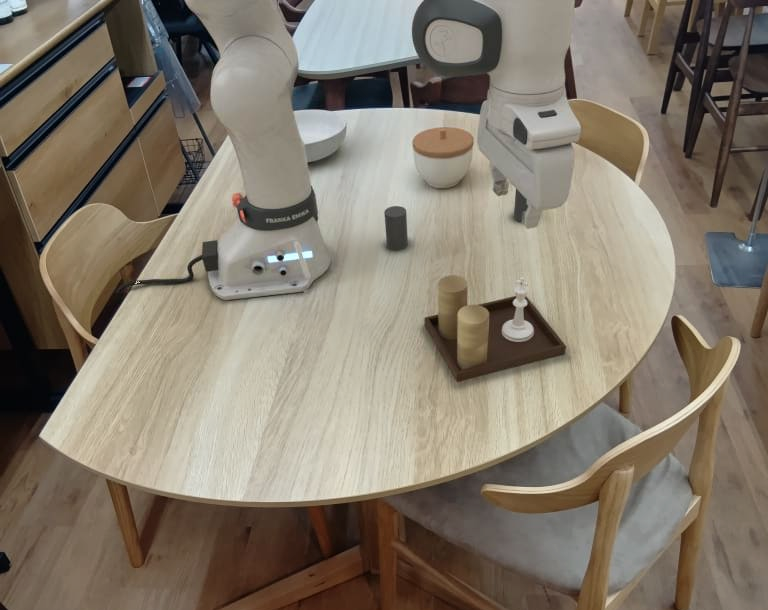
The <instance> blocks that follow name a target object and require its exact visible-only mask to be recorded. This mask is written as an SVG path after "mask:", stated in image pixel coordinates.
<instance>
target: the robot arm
mask: <svg viewBox="0 0 768 610" xmlns="http://www.w3.org/2000/svg"><path fill="white" fill-rule="evenodd" d="M184 2H185V4H186V6H187V8H188V9H189V10H190V11H191V12H192V13H194V14H195V15H196V16H197V18H198V19H199V20H200V22H201V23H202V25H203V26H204V27H205V29H206V30H207V32H208V33H209V35H210V36H211V38H212V40H213V41H214V43H215V45H216V47H217V49H218V53H219V56H220V58H219V60H218V61H217V63H216V64H215V66H214V68H213V70H212V74H211V80H210V92H209V93H210V94H209V95H210V103H211V107H212V110H213V112H214V114H215V116H216V117H217V119H218V120H219V122H220V123H221V124H222V125H224V128H225V130H226V132H227V135H228V137H229V139H230V142H231V144H232V146H233V149H234V151H235V152H234V153H235V155H236V158H237V161H238V165H239V170H240V174H241V178H242V182H243V187H244V190H245V191H244V192H245V196H243V194H241V193H240V192H235V193H233V194H232V196H231V202H232V205H233V206H234V208H236V210H237V216H238V219H237V220H235V222H234V223H233V224H232V225H231V226H229V228H227V230H226V231H225V232H223V234H221V235H220V237H219V239H218V240H217V239H215V240H208V241H203V242H202V245H201V248H202V249H201V254H200V255H199V256H197V257H195V258H193V259H191V260H190V261H189V262H188V263H187V267H186V269H187V272H188V276H187V277H185V278H151V279H137V280H129V281H127V282H124V283H123V284H121V285H120V286H119V287H118V288H117V289H116V291H115V293H116V294H120V293H122V292H123V291H124V290H125V289H126V288H128V287H131V286H138V285H152V284H186V283H189V282H191V280H193V279H194V277H195V276H194V271H193V266H194V265H195V264H196V263H199V262H201V261H202V262H203V266H204V269H205V272H206V273H207V277H208V283H209V287H210V289H211V291H212V292H213V294H214V295H215V296H216V297H218V298H219V299H221V300H224V301H229V300H230V301H231V300H239V299H247V298H248V299H249V298H257V297H258V298H259V297H267V296H275V295H285V294H293V293H301V292H304V291H307V290H309V288H310V287H311V285H312V284H313V283H314V281H316V280H317V279H318V278H319V277H321V276H322V275H324V274H325V273H326V272H327V271H328V270H329V267H330V266H331V263H332V257H331V254H330V252H329V250H328V248H327V246H326V243H325V242H324V239H323V235H322V231H321V229H320V226H319V222H318V221H319V210H318V202H317V195H316V193H315V190H314V188H313V185H312V184H311V177H310V171H309V164H308V163H309V162H307V157H306V150H305V145H304V142H303V141H302V139H301V137H300V134H299V131H298V128H297V124H296V121H295V117H294V113H293V111H294V108H293V89H294V85H295V82H296V80H297V77H298V73H299V65H300V64H299V55H298V50H297V45H296V43H295V40H294V38H293V37H292V35H291V34H290V32H289V31H288V29H287V27H286V25H285V23H284V20H283V18H282V17H281V14H280V12H279V10H278V8H277V6H276V4H275V2H274V1H273V0H184ZM575 3H576V0H422V2H420V3H419V5H418V6H417V8H416V10H415V13H414V15H413V17H412V22H411V39H412V43H413V47H414V51H415V52H416V54H417V57H418V58H419V60H420V61H421V62H422V64H423V66H424V67H426V68H427V69H428V70H429V71H431V72H432V73H434V74H436V75H438V76H441V77H445V78H456V77H458V78H460V77H473V76H479V75H486V74H487V75H488V76H489V87H488V88H489V89H487V95H486V100H484V101H483V102H482V104H481V106H480V107H481V108H480V110H479V111H480V112H479V118H478V124H477V125H478V126H477V137H476V142H477V149H478V151H479V152H480V153H481V154H482V156H484V157H485V158H486V159H487V160H488V161H489V169H490V173H491V178H492V188H491V190H492V192H493V193H494V194H495V195H496V196H497V197H501V196H506V195H508V193H509V186H510V184H511V185H512V186H513V187H514V188H515V190H516V189H517V190H518V191H519V192H520V193H521V194H522V195H523V196H524V197H525V198H526V199H527V205H528V208H527V211H524V212H522V219H521V222H520V223H521V224H522V225H523V226H524V227H525V228H526V229H533V228H536V227H538V226H539V223H540V216H541V214H542V213H543V212H544V211H549V210H554V209H559V208H561V207H562V206H563V205H565V203H566V202H567V201H568V199H569V195H570V191H571V186H572V185H571V184H572V180H573V173H574V168H575V167H574V166H575V165H574V164H575V149H574V146H573V143H577V142H579V140H580V137H581V131H582V126H581V123H580V121H579V120H578V118H577V117H576V115H575V113H574V111H573V110H572V108H571V106H570V103H569V101H568V97H567V95H566V94H565V93H564V91H565V85H566V72H565V71H566V70H565V59H566V55H567V53H568V51H569V48H570V45H571V42H572V35H573V26H574V15H575V5H576V4H575ZM136 281H137V282H138V281H139V282H140V283H137V284H135V283H136Z"/></svg>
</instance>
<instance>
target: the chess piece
mask: <svg viewBox="0 0 768 610" xmlns="http://www.w3.org/2000/svg"><path fill="white" fill-rule="evenodd" d="M515 284H516V285H517V286H515V287H514V290H513V291H514V294H515V296H516V299H515V300H514V301H513V305H514V306H516V311H515V316H514V319H513V320H509V321H507V322H506V323H505V324H504V325H503V327H502V335H503V336H504V337H505V338H506V339H508V340H510V341H513V342H524V341H527V340H529V339H531V338H532V337H533V335H534V328H533V326H532V325H531V324H530V323H529V322H527V321H525V320H524V315H523V307H525V306H527V300H525V297H527V294H528V293H529V288H528V285H529V282H527V281H525V277H523V276H521V277H520V279H516V280H515Z"/></svg>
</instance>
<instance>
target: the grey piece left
mask: <svg viewBox="0 0 768 610" xmlns="http://www.w3.org/2000/svg"><path fill="white" fill-rule="evenodd" d="M383 213H384V226H385V240H386V248H388V250H391V251H402V250H405V249H406V248H408V246H409V237H408V236H409V235H408V220H407V216H408V215H407V209H406V208H405V207H404V206H400V205H392V206H388V207H387V208H385V209H384V212H383Z"/></svg>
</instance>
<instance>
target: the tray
mask: <svg viewBox="0 0 768 610" xmlns="http://www.w3.org/2000/svg"><path fill="white" fill-rule="evenodd" d="M515 299H516V295H513V296H509V297H506V298H505V297H504V298H500V299H497V300H493V301H489V302H484V303H480V304H478V305H479V306H482V307H484V308H486V309H487V310H488V312H489V331H488V350H487V364H484V365H480V366H476V367H472V368H468V369H464V370H461V369H460V368H459V367H458V365H457V340H448V339H445V338H443V337H441V336H440V334H439V332H438V313H437V314H435V315H429V316H425V317H423V322H424V327H425V329H426V331H427V332H428V334H429V336H430V338H431V340H432V342H433V343H434V345H435V346H436V348H437V350H438V352H439V353H440V356H441V357H442V359H443V361H444V362H445V364H446V366H447V367H448V370H449V371H450V372H451V374H452V376H453V378H454V380H455V381H456V382H457V383H458V382H462V381H466V380H470V379H474V378H478V377H481V376H486V375H489V374H494V373H497V372H501V371H505V370H508V369H513V368H516V367H520V366H525V365H528V364H532V363H536V362H539V361H544V360H547V359H551V358H555V357H560V356H564V355H566V351H567V345H566V344H565V342H563V340H562V339H561V338H560V336H559V335H558V334H557V333H556V331H555V330H554V329H553V328H552V327H551V325H550V324H549V322H548V321H547V320H546V318H544V316H543V315H542V314H541V313H540V311H539V310H538V309H537V308H536V306H535V305H534V304H533V303H532V301H531V300H530V299H529V297H527V296H526V297H525V300H527V306H525V307H523V315H524V320H525V321H527V322H529V323H530V324H531V325H532V326H533V328H534V335H533V337H532V338H531V339H529V340H527V341H524V342H513V341H510V340H508V339H506V338H505V337H504V336H503V335H502V327H503V325H504V324H505V323H506V322H507V321H509V320H513V319H514V316H515V311H516V306H514V305H513V301H514V300H515Z"/></svg>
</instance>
